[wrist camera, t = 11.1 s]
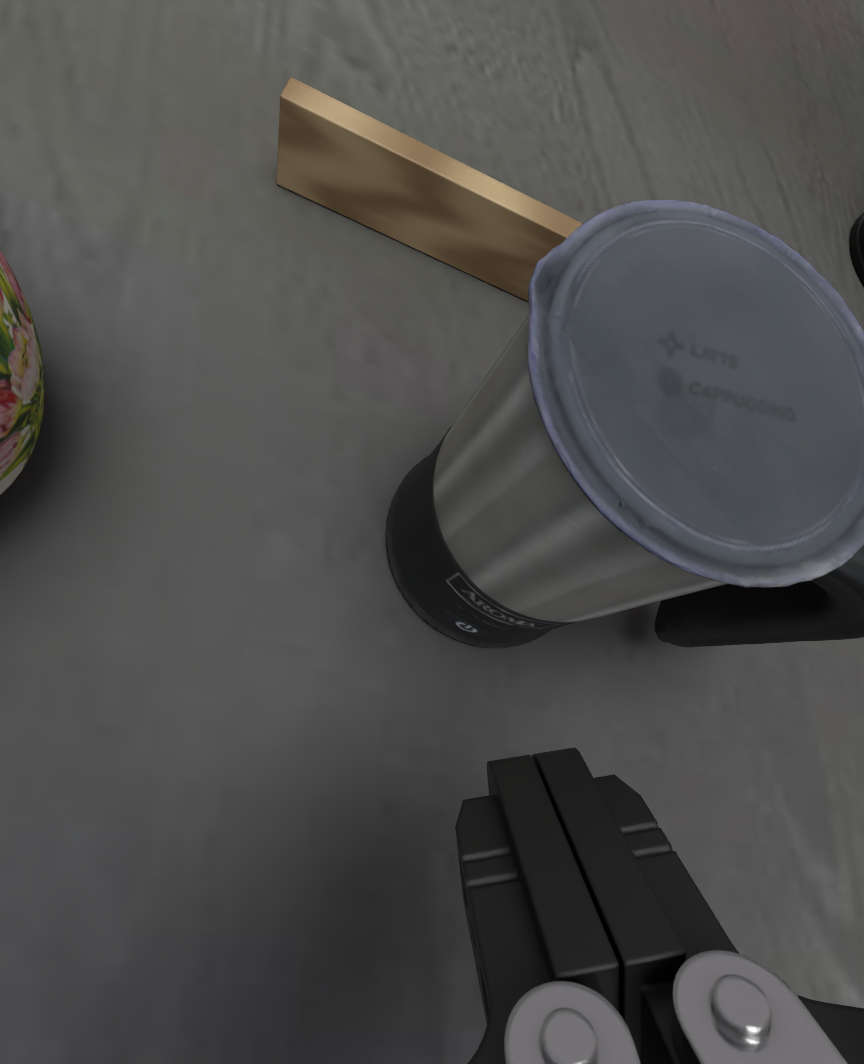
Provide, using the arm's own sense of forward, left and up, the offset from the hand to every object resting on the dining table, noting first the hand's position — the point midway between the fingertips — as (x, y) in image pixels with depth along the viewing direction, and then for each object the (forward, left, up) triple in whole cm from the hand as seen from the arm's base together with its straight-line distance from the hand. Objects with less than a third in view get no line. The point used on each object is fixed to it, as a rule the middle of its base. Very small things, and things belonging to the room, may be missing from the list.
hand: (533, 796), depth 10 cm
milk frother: (+4, +13, -14) cm, 19 cm away
